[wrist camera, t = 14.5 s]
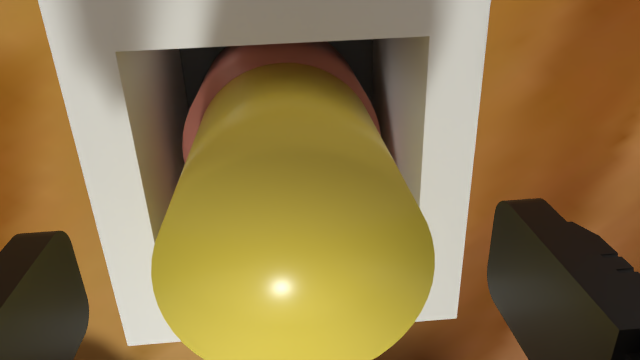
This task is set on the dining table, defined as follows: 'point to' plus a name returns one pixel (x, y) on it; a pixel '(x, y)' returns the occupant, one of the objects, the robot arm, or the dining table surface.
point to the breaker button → (252, 56)
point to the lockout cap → (291, 227)
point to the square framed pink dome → (188, 74)
